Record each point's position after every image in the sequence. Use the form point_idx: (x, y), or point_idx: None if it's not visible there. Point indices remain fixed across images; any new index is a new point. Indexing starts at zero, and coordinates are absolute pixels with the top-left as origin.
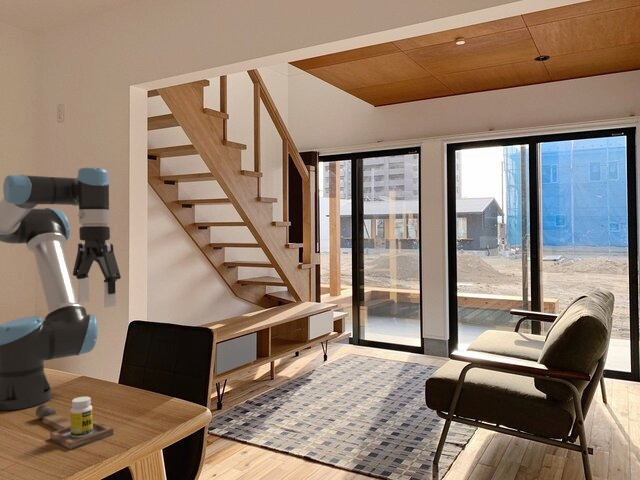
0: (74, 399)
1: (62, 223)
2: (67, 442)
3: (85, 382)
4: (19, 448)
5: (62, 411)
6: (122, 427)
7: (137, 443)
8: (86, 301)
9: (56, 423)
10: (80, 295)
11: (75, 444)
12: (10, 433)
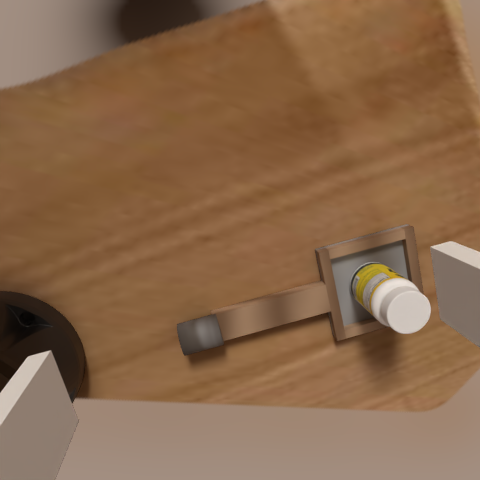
0: (397, 327)
1: None
2: None
3: None
4: (340, 387)
5: (169, 287)
6: (381, 195)
7: None
8: (57, 371)
9: (289, 322)
10: (58, 455)
11: None
12: (244, 396)
